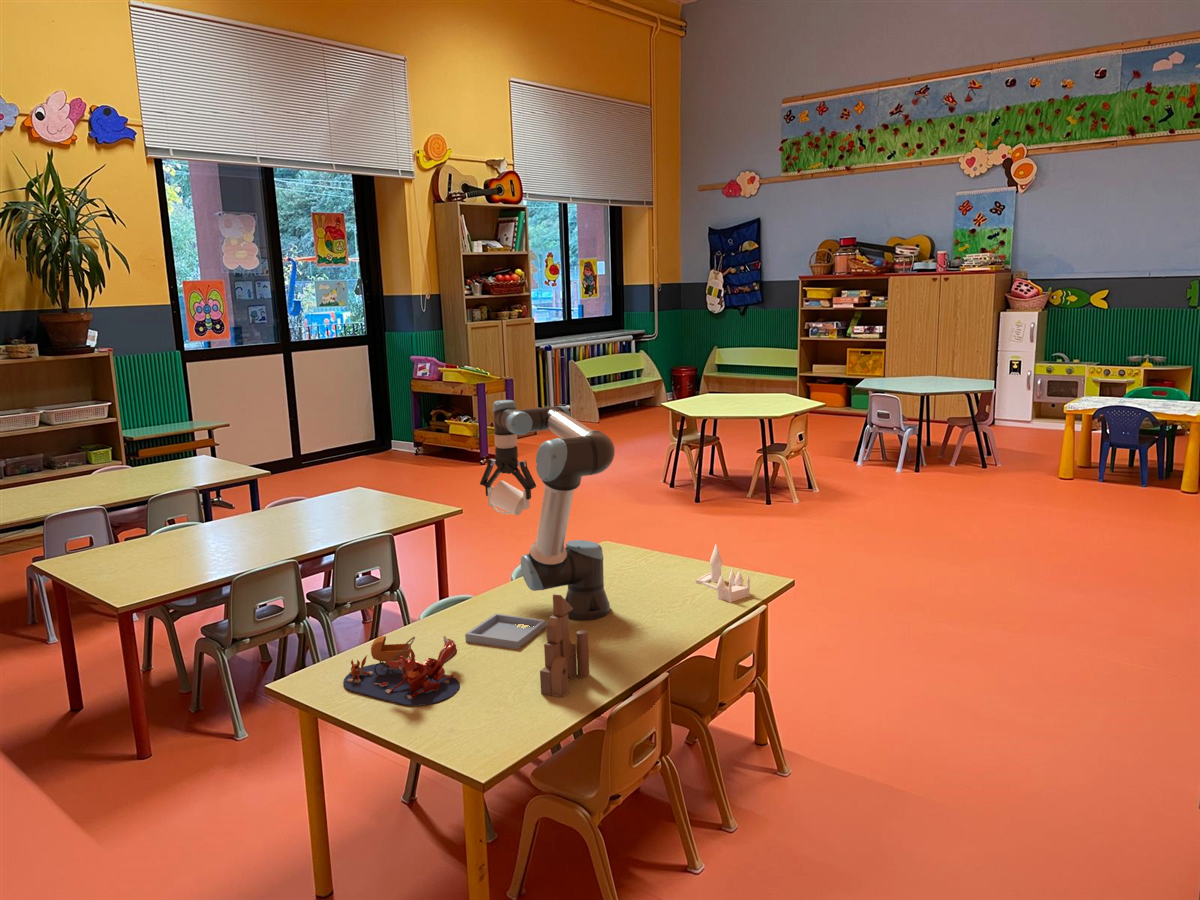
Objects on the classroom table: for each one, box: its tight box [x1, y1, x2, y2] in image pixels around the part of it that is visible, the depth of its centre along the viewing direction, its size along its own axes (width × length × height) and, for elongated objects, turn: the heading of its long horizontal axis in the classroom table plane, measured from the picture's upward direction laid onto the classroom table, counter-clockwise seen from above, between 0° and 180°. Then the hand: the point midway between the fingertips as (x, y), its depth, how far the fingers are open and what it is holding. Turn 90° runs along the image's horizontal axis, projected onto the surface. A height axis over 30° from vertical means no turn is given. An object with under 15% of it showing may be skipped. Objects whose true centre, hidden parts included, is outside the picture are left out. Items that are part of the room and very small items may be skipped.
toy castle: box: [695, 543, 751, 604], centre depth 301 cm, size 14×25×16 cm, turn 34°
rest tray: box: [464, 613, 547, 650], centre depth 272 cm, size 18×18×3 cm
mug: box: [490, 479, 525, 516], centre depth 303 cm, size 11×9×10 cm
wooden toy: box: [539, 593, 590, 698], centre depth 235 cm, size 16×7×25 cm, turn 152°
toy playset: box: [342, 635, 461, 706], centre depth 243 cm, size 35×26×14 cm
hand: (508, 507), depth 303 cm, fingers closed on mug, 13 cm apart
